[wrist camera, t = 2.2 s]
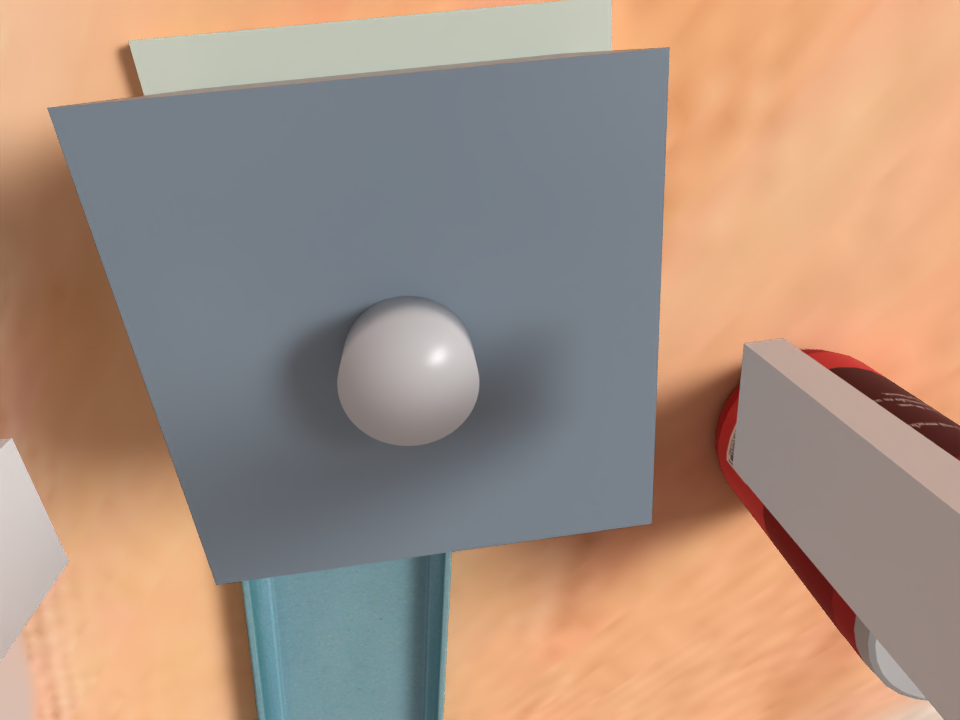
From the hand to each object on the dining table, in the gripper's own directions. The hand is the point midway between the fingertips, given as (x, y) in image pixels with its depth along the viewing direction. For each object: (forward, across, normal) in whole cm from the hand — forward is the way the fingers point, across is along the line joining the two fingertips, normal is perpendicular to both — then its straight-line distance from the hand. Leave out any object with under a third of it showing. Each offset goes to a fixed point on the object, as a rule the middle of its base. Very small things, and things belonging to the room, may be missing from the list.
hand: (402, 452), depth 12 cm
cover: (+12, 0, 0) cm, 13 cm away
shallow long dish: (+14, -6, -22) cm, 27 cm away
